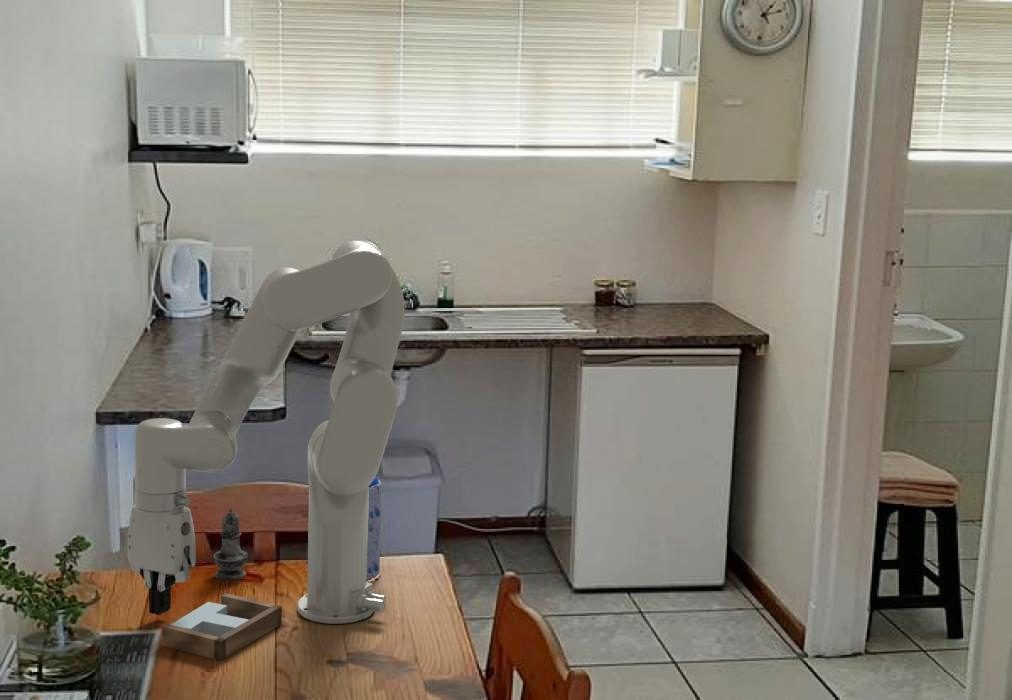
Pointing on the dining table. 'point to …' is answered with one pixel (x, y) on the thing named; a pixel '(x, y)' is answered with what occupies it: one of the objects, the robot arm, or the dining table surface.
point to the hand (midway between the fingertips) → (159, 611)
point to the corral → (219, 648)
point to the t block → (210, 620)
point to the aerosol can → (374, 529)
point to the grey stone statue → (230, 550)
